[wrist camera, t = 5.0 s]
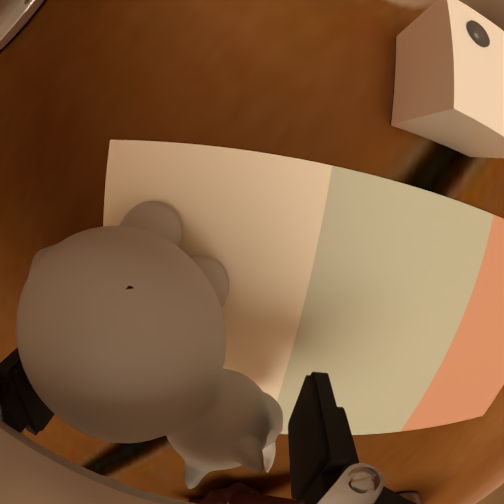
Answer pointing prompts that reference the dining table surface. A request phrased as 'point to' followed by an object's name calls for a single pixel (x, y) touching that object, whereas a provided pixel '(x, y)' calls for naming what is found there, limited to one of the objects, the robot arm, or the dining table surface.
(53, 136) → the dining table surface
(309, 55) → the dining table surface
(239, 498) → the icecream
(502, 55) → the die
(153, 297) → the round bodied animal figurine
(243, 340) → the game mat
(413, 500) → the plant pot
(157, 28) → the dining table surface
